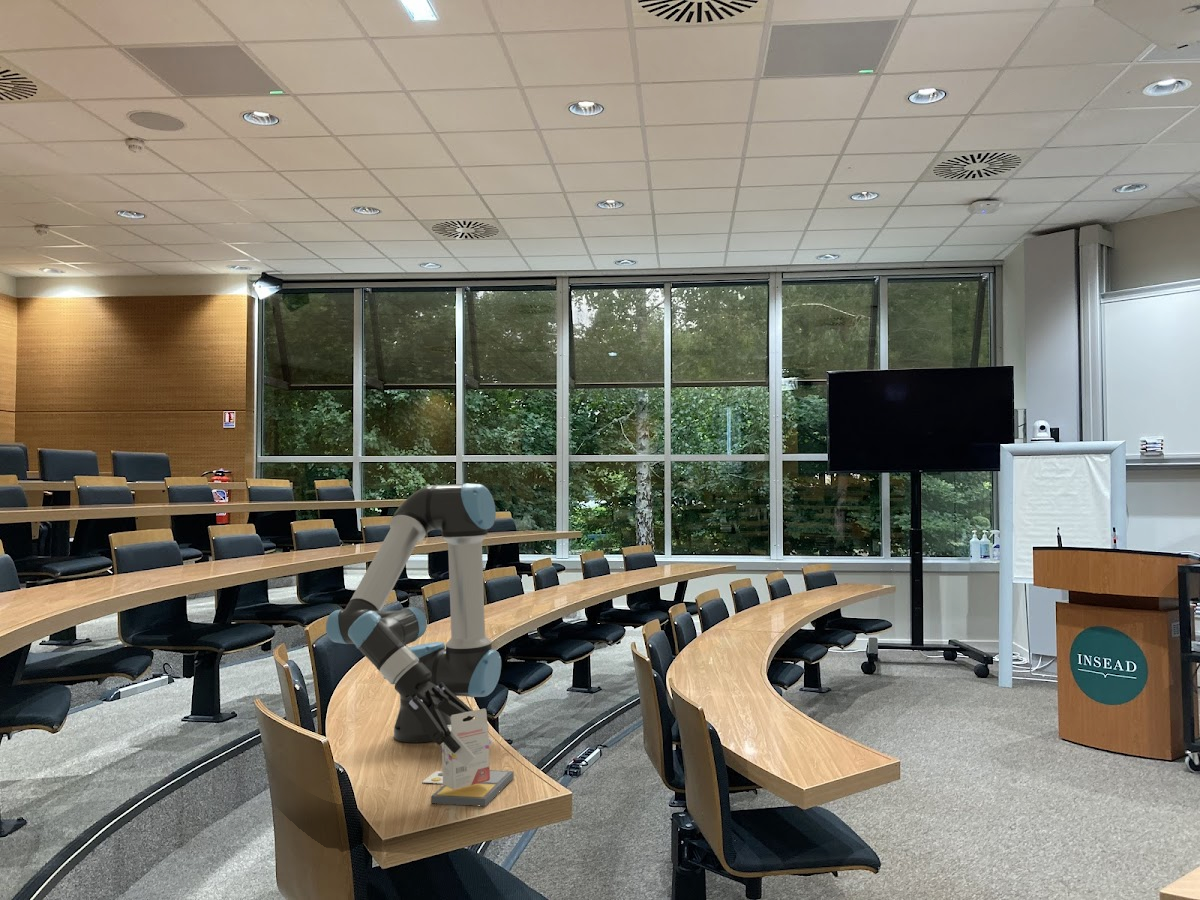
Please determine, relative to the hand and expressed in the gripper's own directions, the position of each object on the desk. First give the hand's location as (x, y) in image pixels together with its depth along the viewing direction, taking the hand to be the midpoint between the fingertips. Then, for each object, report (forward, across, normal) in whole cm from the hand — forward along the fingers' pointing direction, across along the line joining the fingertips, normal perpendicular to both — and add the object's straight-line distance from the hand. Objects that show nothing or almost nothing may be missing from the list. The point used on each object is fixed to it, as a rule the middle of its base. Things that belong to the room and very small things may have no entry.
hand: (480, 753), depth 170 cm
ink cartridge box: (+2, 0, -7) cm, 7 cm away
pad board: (+4, -4, -8) cm, 10 cm away
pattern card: (-3, -10, -16) cm, 19 cm away
